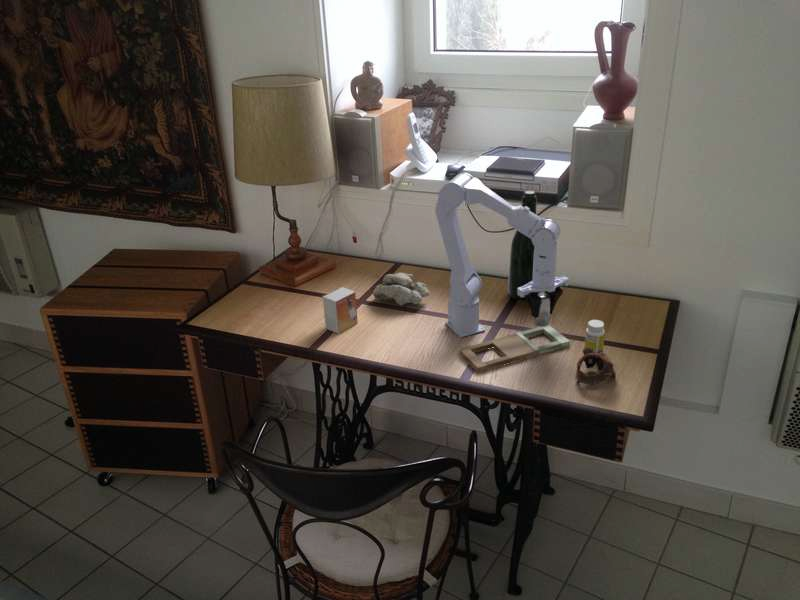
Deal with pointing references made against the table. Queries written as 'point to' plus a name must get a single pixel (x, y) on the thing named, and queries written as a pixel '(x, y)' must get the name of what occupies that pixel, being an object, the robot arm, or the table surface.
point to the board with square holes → (513, 348)
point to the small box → (340, 310)
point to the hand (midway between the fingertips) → (541, 314)
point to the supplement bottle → (595, 336)
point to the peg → (543, 310)
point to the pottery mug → (590, 361)
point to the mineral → (401, 289)
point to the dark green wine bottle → (522, 253)
